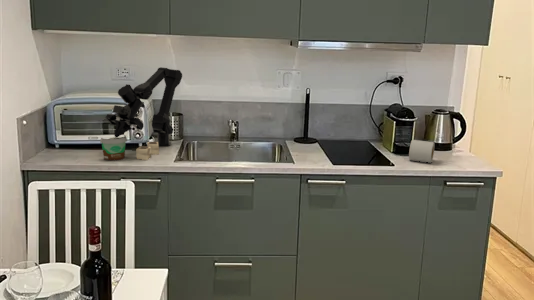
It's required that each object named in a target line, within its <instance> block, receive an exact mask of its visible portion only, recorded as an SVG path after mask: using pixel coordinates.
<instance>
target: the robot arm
mask: <svg viewBox="0 0 534 300" xmlns="http://www.w3.org/2000/svg"><path fill="white" fill-rule="evenodd" d="M182 78H183V73H182V72H181V70H180V69H172V68H171V69H170V68H168V67H158V68H157V70H156V71H155V72H154V73H153V74H152V75H151V76H150V77H149V78H148V79H147V80H146V81H145V82H142V83H140V84H138V85H137V86H134V88H133V87H132V86H131V84H125V85H124V86H122V87H120V88H119V89H118V90H117V94H118V96H119V97H120V98H121V99H122V101H123V102H124V103H125V105H124V106H122V105H115V104H114V106H113V109H112V113H114V114H112V113H108V114H106V116H105V119H106V121H108V122H109V124H110V125H112V126H115V131H114V138H119V137H120V136H121V135H123V134H125V133H126V132H128V131H130V130H132V129H133V127H134V126H136V130H139V131H142V130H143V129H144V127H145V126H144V123H143V121H142V120H141V119H140V118H138V116H139V115H138V112H139V111H140V109H141V108H142V109H144V108H145V107H146V106H145V100H147V101H148V100H149V99H150V97H151V96H152V94H153V90H155V88H156V87H157V86H158V85H159V84H160V82H161V83H162V81H163V80H164V83H165V86H164V87H165V88H164V91H163V95H162V98H161V102H160V106H159V110H158V112H157V113H156V114H153V116H152V120H151V127H152V131H153V133H156V134H157V142H158V144H159V147H169V146H170V145H171V142H170V135H171V134H173V133H174V127H173V126H171V123H170V122H171V119H170V116H169V114H170V111H171V106H172V102H173V100H174V99H173V98H174V95H175V91H176V88H177V87H178V86H179V85H180V83H181V81H182ZM142 100H144V101H142ZM126 104H127V105H126ZM116 114H117V115H116Z"/></svg>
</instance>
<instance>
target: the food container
mask: <svg viewBox="0 0 534 300" xmlns="http://www.w3.org/2000/svg"><path fill="white" fill-rule="evenodd" d="M127 142H128V139H127V135H125V134H124V136H123V137H110V138H103V137H101V138H100V143H101V148H102V154H103V160H106V161H121V160H123V159H125V156H126V155H125V154H126V143H127Z"/></svg>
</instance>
